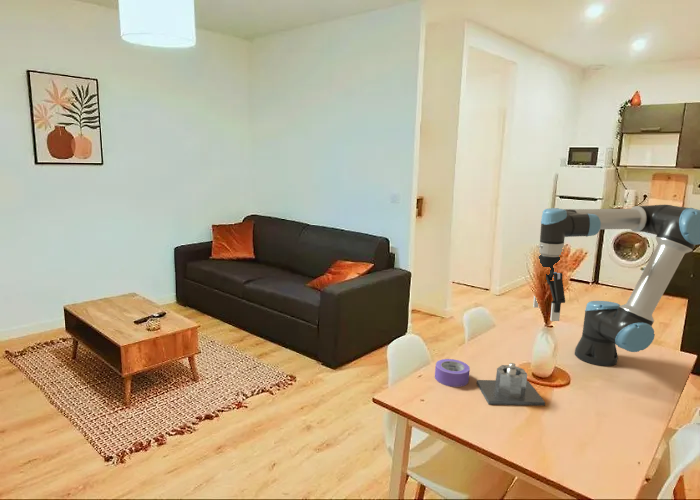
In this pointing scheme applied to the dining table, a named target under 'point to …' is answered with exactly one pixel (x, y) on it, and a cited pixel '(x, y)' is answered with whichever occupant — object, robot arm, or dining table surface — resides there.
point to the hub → (511, 382)
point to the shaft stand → (498, 399)
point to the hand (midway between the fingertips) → (545, 313)
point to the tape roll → (452, 372)
